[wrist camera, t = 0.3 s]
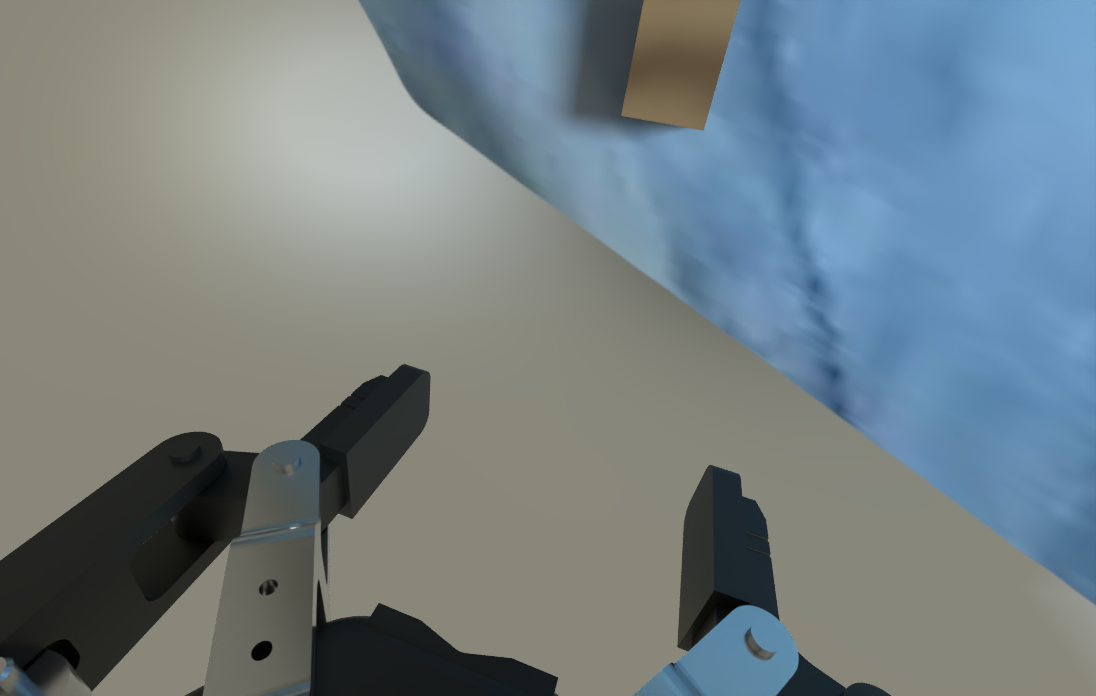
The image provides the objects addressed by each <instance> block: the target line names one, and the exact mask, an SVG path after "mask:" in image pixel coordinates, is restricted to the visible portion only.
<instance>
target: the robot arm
mask: <svg viewBox="0 0 1096 696" xmlns="http://www.w3.org/2000/svg"><path fill="white" fill-rule="evenodd" d="M429 401H430V373H429V372H427V371H424V370H421V369H418V368H415V367H412V366H409V365H406V364H403V365H401V366H400V367H399V368H398V369H397V370H396V371H395V372H393V373H392V374H391V375H390V376H389V377H385V376H382V375H380V376H378V377H376V378H374V379H371V380H369V381H367V382H365V383H363V384H362V385H361V386H360V387H359V388H358V389H356V390H355V391H354V392H353V393H352V394H351V396H349V397H347V398H346V399H345V400H344V401H343V402H342V403H341V405H340V406H337V407H336V408H335V409H334V410H333V411H332V412H331V413H330V414H328V415H327V416H326V417H325V418H324V419H323V420H322V421H321V422H320V423H318V424H317V425H316V426H315V427H314V428H313V429H312V430H311V431H310V432H309V433H307V434H306V435H305V436H304V437H303V438H302V439H300V440H288V441H283V442H279V443H276V444H274V445H271V446H269V447H268V448H266V449H265V450H263V451H262V452H261V453H250V452H235V451H224V450H223V447H222V443H221V441H220V439H219V438H218V437H217V436H215V435H213V434H211V433H207V432H189V433H184V434H180V435H177V436H174V437H171V438H169V439H167V440H165V441H163V442H162V443H160V444H159V445H158V446H156V447H155V448H153V449H152V450H151V451H149V452H148V453H146V454H145V455H144V456H142V457H141V458H140V459H138V460H137V461H136V462H134V463H133V464H131V465H130V466H129V467H127V468H126V469H125V470H123V471H122V472H120V473H119V474H118V475H116V476H115V477H114V478H112V479H111V480H110V481H108V482H107V483H105V484H104V485H103V486H101V487H100V488H99V489H97V490H96V491H95V492H93V493H92V494H90V495H89V496H88V497H86V498H85V499H84V500H82V501H81V502H80V503H78V504H77V505H76V506H74V507H73V508H71V509H70V510H69V511H68V512H66V513H65V514H63V515H62V516H61V517H59V518H58V519H56V520H55V521H54V522H52V523H51V524H50V525H48V526H47V527H45V528H44V529H43V530H41V531H40V532H39V533H37V534H36V535H35V536H33V537H32V538H30V539H29V540H28V541H26V542H25V543H24V544H22V545H21V546H20V547H18V548H17V549H15V550H14V551H13V552H12V553H10V554H9V555H7V556H6V557H5V558H3V559H2V560H0V696H92V694H91V692H92V691H93V689H94V688H95V687H96V686H97V685H98V684H99V683H100V682H101V681H102V680H103V679H104V678H105V676H106V675H107V674H108V673H109V672H110V671H111V670H112V669H113V668H114V667H115V666H116V665H117V664H118V663H119V662H120V661H121V659H122V658H123V657H124V656H125V655H126V654H127V653H128V652H129V651H130V650H131V649H132V647H134V646H135V644H136V643H137V642H138V641H139V640H140V639H141V638H142V637H143V636H144V635H145V634H146V633H147V632H148V630H149V629H150V628H151V627H152V626H153V625H154V624H155V623H156V622H157V621H158V620H159V618H161V617H162V615H163V614H164V613H165V612H166V611H167V610H168V609H169V608H170V607H171V606H172V605H173V604H174V602H175V601H176V600H177V599H178V598H179V597H180V596H181V595H182V594H183V593H184V592H185V591H186V590H187V589H188V587H189V586H190V585H191V584H192V583H193V582H194V581H195V580H196V579H197V578H198V577H199V576H200V575H201V573H202V572H203V571H204V570H205V569H206V568H207V567H208V566H209V565H210V564H211V563H212V562H213V561H214V560H215V558H216V557H217V556H218V555H219V554H220V553H221V552H222V551H223V550H224V549H225V548H226V547H227V546H228V545H229V544H230V542H231V545H230V549H229V554H228V559H227V565H226V571H225V576H224V581H223V587H222V592H221V598H220V603H219V609H218V614H217V620H216V625H215V631H214V636H213V642H212V647H211V652H210V659H209V664H208V669H207V674H206V680H205V685H204V686H202V687H200V688H198V689H197V690H195V691H193V692H191V693H189V694H187V695H185V696H558V695H557V694H555V693H554V692H555V688H556V684H557V680H558V677H556V676H553V675H551V674H548V673H546V672H544V671H541V670H539V669H536V668H534V667H532V666H529V665H527V664H524V663H522V662H519V661H517V660H515V659H512V658H504V657H495V656H486V655H477V654H468V653H462V652H459V651H458V650H456V649H455V648H454V647H452V646H451V645H450V644H449V643H448V642H446V641H445V640H444V639H443V638H442V637H440V636H439V635H438V634H437V633H435V632H434V631H433V630H432V629H431V628H429V627H428V626H427V625H426V624H424V623H423V622H422V621H421V620H418V619H416V618H414V617H411V616H409V615H407V614H404V613H402V612H399V611H397V610H395V609H392V608H390V607H387V606H385V605H382V604H380V603H379V604H378V605H377V607H376V608H375V610H374V612H373V613H372V615H371V616H352V617H346V618H340V619H336V620H333V621H331V611H330V595H329V523H330V522H331V521H332V520H333V518H335V516H336V515H337V514H341V515H344V516H346V517H349V518H351V519H353V518H354V516H355V515H356V514H357V513H358V511H359V510H360V508H361V507H362V506H363V505H364V504H365V502H366V501H367V500H368V499H369V497H370V496H371V495H372V494H373V492H374V491H375V490H376V489H377V487H378V486H379V485H380V484H381V482H382V481H383V480H384V479H385V477H386V476H387V475H388V474H389V472H390V471H391V470H392V469H393V467H394V466H395V465H396V464H397V462H398V461H399V460H400V459H401V457H402V456H403V455H404V454H405V452H406V451H407V450H408V449H409V447H410V446H411V445H412V444H413V442H414V441H415V440H416V438H417V437H418V436H419V435H420V434H421V432H422V430H423V429H424V427H425V425H426V422H427V419H428V416H429ZM170 519H171V520H170ZM161 527H162V528H161ZM160 528H161V529H160ZM151 536H152V537H151ZM678 647H679V648H681V649H684V650H686V651H688V652H687V653H686V654H685V655H684V656H683V657H682V658H681V659H679V660H678V661H677V662H676V663H674V664H673V663H670V664H668V665H667V666H666V667H664V668H663V669H662V670H661V671H660V672H659V673H658V674H656V675H655V676H654V677H653V678H652V679H651V680H650V681H649V682H648V683H646V684H645V686H643V687H642V688H641V689H640V690H639V691H638V692H637V693H635V694H634V695H633V696H891V695H889V694H888V693H886V692H885V691H883V690H882V689H880V688H878V687H876V686H873V685H870V684H867V683H855V684H852V685H851V686H849V687H848V688H847V689H846V688H845V687H843V686H842V685H841V684H839V683H838V682H836V681H835V680H833V679H832V678H830V677H829V676H828V675H826V674H825V673H823V672H822V671H821V670H819V669H818V668H816V667H815V666H813V665H812V664H811V663H809V662H808V661H807V660H806V659H805V658H804V657H803V656H802V655H801V654H800V653H799V652H798V651H797V647H796V644H795V642H794V640H793V638H792V636H791V635H790V633H789V631H788V630H787V629H786V627H785V626H784V625H783V624H782V623H781V622H780V620H779V615H778V608H777V600H776V593H775V585H774V578H773V570H772V562H771V558H770V547H769V542H768V532H767V524H766V519H765V517H764V516H763V513H762V512H761V510H760V508H759V506H758V504H757V503H756V501H755V500H752V499H748V498H746V497H743V496H742V489H741V478H740V475H739V474H737V473H734V472H731V471H728V470H725V469H722V468H719V467H715V466H713V465H709V466H708V467H707V469H706V471H705V473H704V475H703V477H702V479H701V481H700V483H699V485H698V487H697V489H696V491H695V493H694V495H693V497H692V499H691V501H690V503H689V506H688V508H687V511H686V516H685V521H684V532H683V551H682V571H681V589H680V608H679V628H678Z"/></svg>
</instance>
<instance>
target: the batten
mask: <svg viewBox="0 0 1096 696" xmlns="http://www.w3.org/2000/svg"><path fill="white" fill-rule="evenodd" d="M739 3H740V0H644V2H643V7H642V12H641V17H640V22H639V27H638V32H637V37H636V42H635V47H634V53H633V58H632V63H631V68H630V73H629V78H628V83H627V88H626V93H625V98H624V103H623V108H622V113H621V116H625V117H631V118H636V119H642V120H648V121H653V122H659V123H664V124H670V125H676V126H681V127H687V128H692V129H698V130H704V127H705V123H706V120H707V116H708V113H709V109H710V106H711V102H712V99H713V95H714V92H715V88H716V85H717V81H718V77H719V74H720V70H721V67H722V63H723V60H724V56H725V53H726V49H727V46H728V42H729V39H730V35H731V32H732V28H733V25H734V21H735V18H736V14H737V10H738V7H739Z"/></svg>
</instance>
